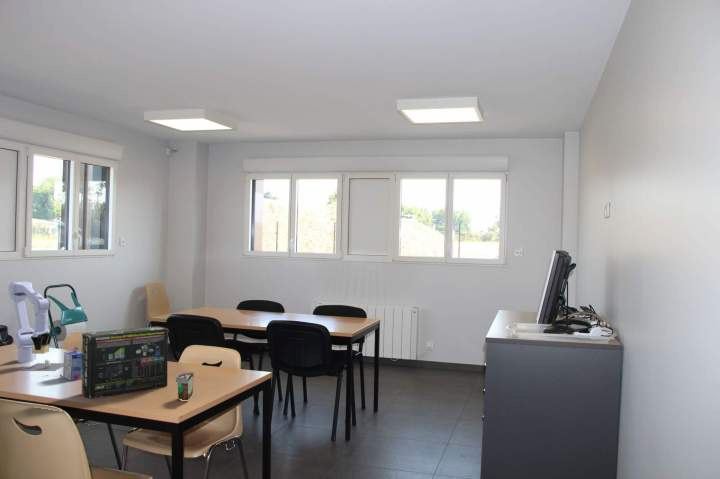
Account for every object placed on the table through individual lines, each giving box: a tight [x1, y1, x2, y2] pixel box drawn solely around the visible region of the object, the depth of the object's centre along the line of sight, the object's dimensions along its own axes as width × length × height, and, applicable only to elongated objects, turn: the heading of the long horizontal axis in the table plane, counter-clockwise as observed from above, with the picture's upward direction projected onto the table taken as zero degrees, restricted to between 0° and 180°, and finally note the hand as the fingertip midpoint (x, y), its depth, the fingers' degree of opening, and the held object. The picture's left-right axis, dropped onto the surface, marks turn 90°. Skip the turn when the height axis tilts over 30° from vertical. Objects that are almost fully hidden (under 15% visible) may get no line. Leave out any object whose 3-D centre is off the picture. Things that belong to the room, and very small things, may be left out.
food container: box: [175, 371, 195, 400], centre depth 245 cm, size 12×6×10 cm, turn 5°
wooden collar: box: [32, 344, 50, 355], centre depth 296 cm, size 6×6×4 cm
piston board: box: [21, 359, 64, 372], centre depth 293 cm, size 18×16×5 cm
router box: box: [81, 325, 169, 399], centre depth 257 cm, size 36×11×27 cm, turn 133°
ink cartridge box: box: [62, 346, 82, 381], centre depth 276 cm, size 10×6×14 cm, turn 48°
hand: (40, 348), depth 296 cm, fingers closed on wooden collar, 6 cm apart
